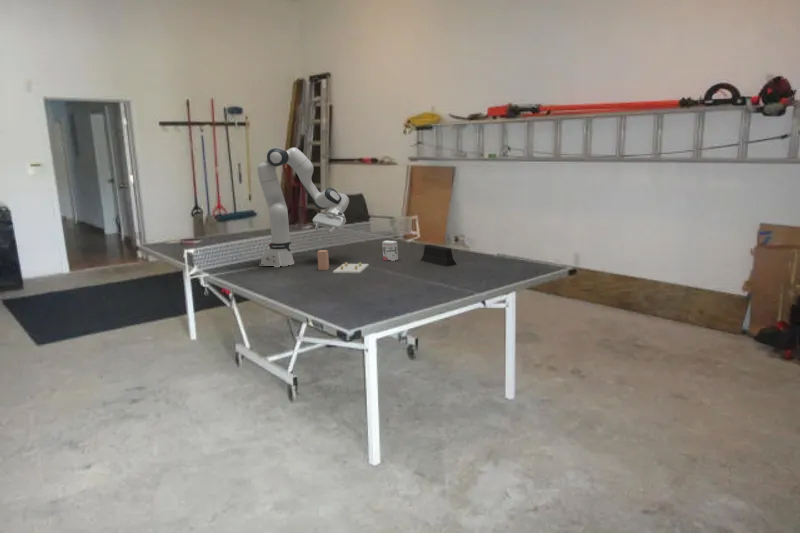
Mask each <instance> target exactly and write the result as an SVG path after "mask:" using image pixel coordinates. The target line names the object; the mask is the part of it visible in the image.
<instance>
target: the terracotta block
mask: <svg viewBox="0 0 800 533" xmlns="http://www.w3.org/2000/svg"><path fill="white" fill-rule="evenodd" d="M316 253H317V254H316V256H317V266H318V271H328V270H329V269H330V261H329V249H319V250H318V251H317V252H316Z"/></svg>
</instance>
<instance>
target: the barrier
mask: <svg viewBox="0 0 800 533" xmlns="http://www.w3.org/2000/svg"><path fill="white" fill-rule="evenodd" d="M422 261H424V262H423V263H427V262H428V263H427V264H431V263H432V264H431V265H437V266H442V267H451V266H456V265H457V262H456V261H455V259H454V257H453V251H452V248H450V247H443V246H439V245H434V244H425V245H424V249H423V254H422V257H421V258H420V262H422Z"/></svg>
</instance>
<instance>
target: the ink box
mask: <svg viewBox="0 0 800 533" xmlns="http://www.w3.org/2000/svg"><path fill="white" fill-rule="evenodd" d="M381 244H382V248H381V249H382V260H383V261H387V260H391V261H390V262H396V261H398V260H399V252H398V247H399V246H398V241H396V240H383V241H381ZM395 260H396V261H395Z"/></svg>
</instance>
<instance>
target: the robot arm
mask: <svg viewBox="0 0 800 533" xmlns="http://www.w3.org/2000/svg"><path fill="white" fill-rule="evenodd" d="M285 164H287V165H289V166H290V168H292V169H293V171H294V173H296V174H297V176H298V178H299V181H300V183H301V185H302V186H303V188H304V189H305V191H306V192H307V193H308V195H309V196H310V198H311V200H312V201H313V203H314V204H313V205H314V206H315V208H317V209H318V210H321V211H322V210H327V211H326V212H318V213H317V214H316V215H315V216H314V217H313V218H312V222H313V225H315V228H314V231H319V229H320V228H319V227H323V228H327V229H328V231H327V233H328V234H330V235H331V234H332V233H333V232H335V231H341V230H343V229H344V227H345V225H346V223H347V219H346V216H345V214H344V213H345V211H346V209H347V208H348V206H349V204H350V198H349V196H348V195H346V194H345V193H340V192H339V191H337V190H336V189H335V188H333V187H327V188H325V189H324V190H323V191H322V192H320V191H319V190H318V189H317V186H316V185H315V184H314V183H313V181H312V178H313V177H312V176H313V174H314V165H313V163H312V162H311V160H310V159H309V158H308V157H307V155H305V153H303V152H302V151H301V150H300V149H298V147H290V148H288V149H287V150H284V149H282V148H280V147H278V146H277V147H275V146H274V147H272V148H270V149H269V150H268V151H267V153H266V160H265V161H263V162H261V163H259V164H258V165H257V170H256V171H257V176H258V180H259V183H260V187H261V190H262V193H263V196H264V199H265V202H266V205H267V207H268V214H269V224H270V234H271V242H270V243H269V244H268V247H269V249H268V250H266V252H264V253H263V254H262V255H261V264H264V265H267V266H274V267H273V268H281V267H280V266H282V267H288V265H289V266H292V265H295V261H294V258H293V253H292V241H291V237H290V236H291V234H290V226H289V225H290V224H289V213H288V211H289V210H288V206H287V203H286V200H285V196H284V193H283V190H282V188H281V184H280V180H279V178H278V174H277V167H280V166H283V165H285ZM327 208H328V209H327Z"/></svg>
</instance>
